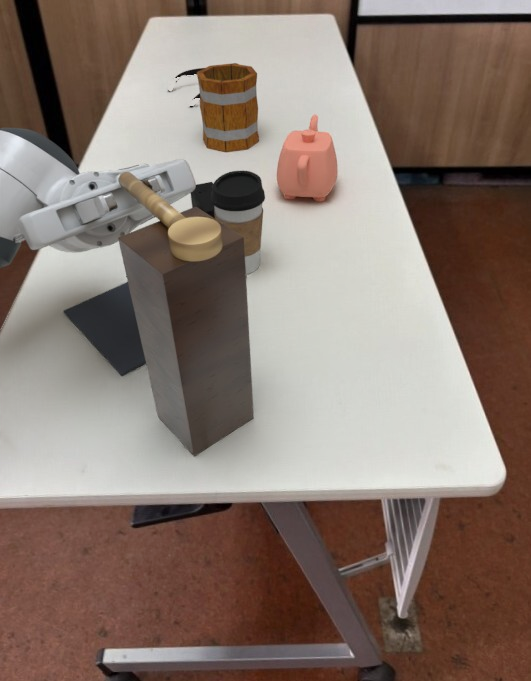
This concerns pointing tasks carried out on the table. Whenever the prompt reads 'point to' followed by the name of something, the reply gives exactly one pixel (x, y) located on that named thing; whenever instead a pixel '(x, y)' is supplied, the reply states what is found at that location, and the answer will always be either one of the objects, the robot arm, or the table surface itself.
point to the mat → (111, 327)
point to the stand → (192, 332)
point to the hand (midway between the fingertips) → (133, 193)
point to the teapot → (307, 164)
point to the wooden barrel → (229, 106)
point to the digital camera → (203, 198)
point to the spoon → (177, 223)
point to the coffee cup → (241, 210)
